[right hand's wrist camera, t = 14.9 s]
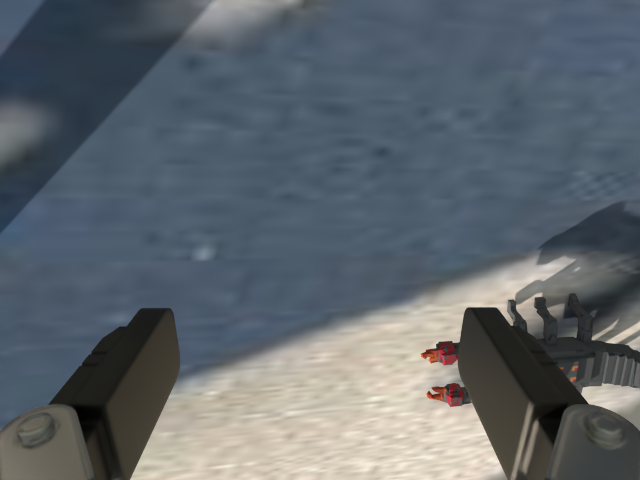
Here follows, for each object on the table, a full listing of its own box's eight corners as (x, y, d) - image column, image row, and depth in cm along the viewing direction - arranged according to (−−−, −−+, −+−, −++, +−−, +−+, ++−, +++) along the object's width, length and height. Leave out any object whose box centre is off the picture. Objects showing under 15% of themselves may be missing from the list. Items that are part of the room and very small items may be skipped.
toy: (637, 384, 50) (801, 544, 33) (415, 402, 51) (463, 566, 34) (660, 286, 45) (866, 415, 28) (413, 308, 46) (467, 446, 29)
